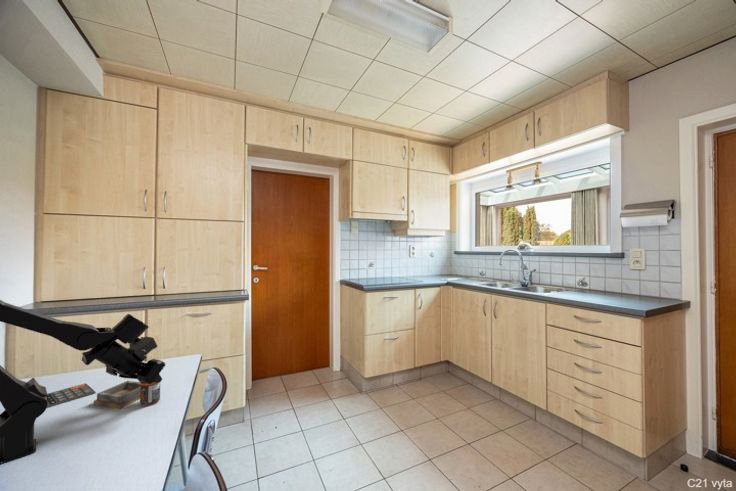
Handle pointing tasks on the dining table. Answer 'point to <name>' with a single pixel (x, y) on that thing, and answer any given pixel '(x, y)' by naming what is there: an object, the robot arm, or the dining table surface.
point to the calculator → (68, 394)
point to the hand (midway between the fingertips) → (155, 379)
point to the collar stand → (119, 395)
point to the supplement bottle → (149, 393)
